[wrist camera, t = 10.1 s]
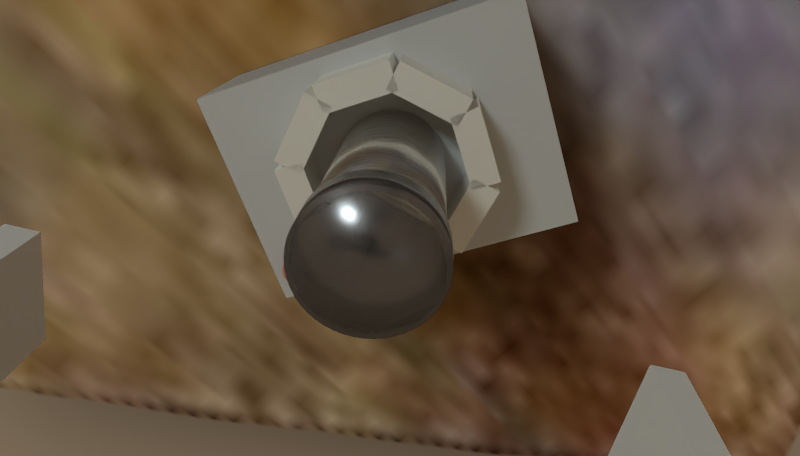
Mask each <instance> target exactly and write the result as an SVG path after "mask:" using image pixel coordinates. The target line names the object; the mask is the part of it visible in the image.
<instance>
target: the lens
mask: <svg viewBox="0 0 800 456" xmlns="http://www.w3.org/2000/svg"><path fill="white" fill-rule="evenodd" d="M283 259H284V270H285V274H286V279H287V281H288V284H289V287H290V289H291V291H292V293H293V295H294V297H295V298H296V299H297V301H298V302H299V304H300V305H301V306H302V307H303V308H304V309H305V311H306V312H307V313H308V314H310V315H311V316H312V317H313V318H314V319H315V320H317V321H318V322H320V323H321V324H323V325H324V326H326V327H328V328H330V329H332V330H334V331H337V332H339V333H342V334H345V335H349V336H352V337H358V338H368V339H378V338H387V337H393V336H397V335H400V334H403V333H406V332H408V331H410V330H413V329H415V328H416V327H418V326H420V325H421V324H423V323H424V322H425V321H427V320H428V319H429V318H430V317H431V316H432V315H433V314H434V313H435V312H436V311H437V310H438V309H439V307H440V306H441V304H442V303H443V302H444V300H445V298H446V296H447V294H448V292H449V289H450V286H451V282H452V277H453V267H454V262H453V242H452V233H451V229H450V225H449V222H448V219H447V202H446V166H445V152H444V148H443V145H442V142H441V140H440V138H439V136H438V134H437V133H436V132H435V130H434V129H433V128H432V127H431V126H430V125H429V124H428V123H427V122H426V121H424V120H423V119H422V118H420V117H418V116H417V115H414V114H412V113H409V112H406V111H401V110H382V111H378V112H374V113H372V114H369V115H368V116H366V117H364V118H362V119H361V120H360V121H358V122H357V123H356V124H355V125H354V126H353V127H352V129H351V130H350V131H349V133H348V134H347V136H346V138H345V140H344V142H343V143H342V145H341V147H340V149H339V151H338V153H337V154H336V156H335V158H334V160H333V162H332V164H331V166H330V167H329V169H328V171H327V173H326V175H325V177H324V179H323V180H322V182H321V184H320V186H319V187H318V188H317V189H316V190H315V191H314V192H313V193H312V194H311V195H310V197H309V198H308V199H307V200H306V202H305V203H304V205H303V207H302V209H301V210H300V212H299V214H298V216H297V218H296V219H295V221H294V223H293V225H292V226H291V228H290V230H289V233H288V236H287V238H286V242H285V247H284V257H283Z"/></svg>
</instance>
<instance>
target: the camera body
mask: <svg viewBox="0 0 800 456" xmlns="http://www.w3.org/2000/svg"><path fill="white" fill-rule="evenodd" d="M196 100H197V102H198V104H199V106H200V108H201V111H202V113H203V115H204V117H205V119H206V122H207V124H208V126H209V128H210V130H211V133H212V135H213V137H214V139H215V142H216V144H217V146H218V148H219V150H220V153H221V155H222V157H223V159H224V161H225V164H226V166H227V168H228V170H229V172H230V175H231V177H232V179H233V181H234V184H235V186H236V188H237V190H238V192H239V195H240V197H241V199H242V201H243V203H244V206H245V208H246V210H247V212H248V214H249V217H250V219H251V221H252V223H253V225H254V228H255V230H256V232H257V234H258V237H259V239H260V241H261V243H262V245H263V248H264V250H265V252H266V254H267V256H268V259H269V261H270V263H271V265H272V267H273V270H274V272H275V274H276V276H277V279H278V281H279V283H280V285H281V287H282V290H283V292H284V294H285V296H286V298H288V297H292V296H294V295H293V293H292V291H291V289H290V287H289V284H288V281H287V279H286V274H285V270H284V259H283V257H284V247H285V242H286V238H287V236H288V233H289V230H290V228H291V226H292V225H293V223H294V221H295V219H296V218H297V216H298V214H299V212H300V210H301V209H302V207H303V205H304V203H305V202H306V200H307V199H308V198H309V197H310V195H311V194H312V193H313V192H314V191H315V190H316V189H317V188H318V187H319V186H320V184H321V182H322V180H323V179H324V177H325V175H326V173H327V171H328V169H329V167H330V166H331V164H332V162H333V160H334V158H335V156H336V154H337V153H338V151H339V149H340V147H341V145H342V143H343V142H344V140H345V138H346V136H347V134H348V133H349V131H350V130H351V129H352V127H353V126H354V125H355V124H356V123H357V122H358V121H360V120H361V119H362V118H364V117H366V116H368V115H369V114H372V113H374V112H378V111H382V110H401V111H406V112H409V113H412V114H414V115H417V116H418V117H420V118H422V119H423V120H424V121H426V122H427V123H428V124H429V125H430V126H431V127H432V128H433V129H434V130H435V132H436V133H437V134H438V136H439V138H440V140H441V142H442V145H443V148H444V152H445V166H446V202H447V219H448V222H449V225H450V229H451V233H452V242H453V259H454V254H456V253H463V252H464V251H468V250H471V249H475V248H479V247H483V246H487V245H490V244H494V243H498V242H502V241H506V240H510V239H513V238H517V237H521V236H525V235H529V234H532V233H536V232H540V231H544V230H548V229H551V228H555V227H559V226H563V225H567V224H571V223H574V222H578V218H577V214H576V210H575V206H574V201H573V197H572V193H571V189H570V185H569V180H568V176H567V172H566V168H565V164H564V159H563V155H562V151H561V147H560V143H559V138H558V134H557V130H556V126H555V122H554V117H553V113H552V109H551V105H550V101H549V96H548V92H547V88H546V84H545V80H544V75H543V71H542V67H541V63H540V59H539V54H538V50H537V46H536V42H535V38H534V34H533V29H532V25H531V21H530V17H529V13H528V8H527V4H526V0H457V1H454V2H451V3H448V4H445V5H443V6H440V7H437V8H434V9H431V10H428V11H425V12H422V13H419V14H416V15H413V16H410V17H407V18H405V19H402V20H399V21H396V22H393V23H390V24H387V25H384V26H381V27H378V28H375V29H372V30H369V31H367V32H364V33H361V34H358V35H355V36H352V37H349V38H346V39H343V40H340V41H337V42H334V43H331V44H329V45H326V46H323V47H320V48H317V49H314V50H311V51H308V52H305V53H302V54H299V55H296V56H293V57H291V58H288V59H285V60H282V61H279V62H276V63H273V64H270V65H267V66H264V67H261V68H258V69H255V70H253V71H250V72H247V73H244V74H241V75H239V76H237V77H235V78H233V79H232V80H230V81H228V82H226V83H225V84H223V85H221V86H219V87H218V88H216V89H214V90H212V91H210V92H209V93H207V94H205V95H203V96H202V97H200V98H198V99H196Z"/></svg>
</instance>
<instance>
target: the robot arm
mask: <svg viewBox="0 0 800 456" xmlns="http://www.w3.org/2000/svg"><path fill="white" fill-rule="evenodd" d="M45 339H46V336H45V315H44V294H43V273H42V252H41V232H39V231H34V230H29V229H25V228H20V227H16V226H11V225H6V224H4V225H2V226H0V382H1V381H2V380H3V379H5V378H6V377H7V376H8V375H9V374H10V373H11V372H12V371H13V370H14V369H15V368H16V367H17V366H18V365H19V364H20V363H21V362H22V361H23V360H24V359H25V358H26V357H27V356H28V355H29V354H30V353H31V352H33V351H34V350H35V349H36V348H37V347H38V346H39V345H40V344H41V343H42V342H43V341H44V340H45ZM608 456H731V455H730V453H729V452H728V450H727V448H726V446H725V444H724V442H723V441H722V439H721V437H720V435H719V433H718V431H717V430H716V428H715V426H714V424H713V422H712V420H711V419H710V417H709V415H708V413H707V411H706V409H705V408H704V406H703V404H702V402H701V400H700V398H699V397H698V395H697V393H696V391H695V389H694V387H693V386H692V384H691V382H690V380H689V378H688V376H687V375H686V373H685V372H681V371H677V370H672V369H668V368H663V367H658V366H654V365H650V366H649V368H648V371H647V373H646V375H645V377H644V379H643V381H642V383H641V386H640V388H639V390H638V392H637V394H636V396H635V398H634V401H633V403H632V405H631V407H630V409H629V411H628V413H627V416H626V418H625V420H624V422H623V424H622V426H621V428H620V431H619V433H618V435H617V437H616V439H615V441H614V444H613V446H612V448H611V450H610V452H609V454H608Z"/></svg>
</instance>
